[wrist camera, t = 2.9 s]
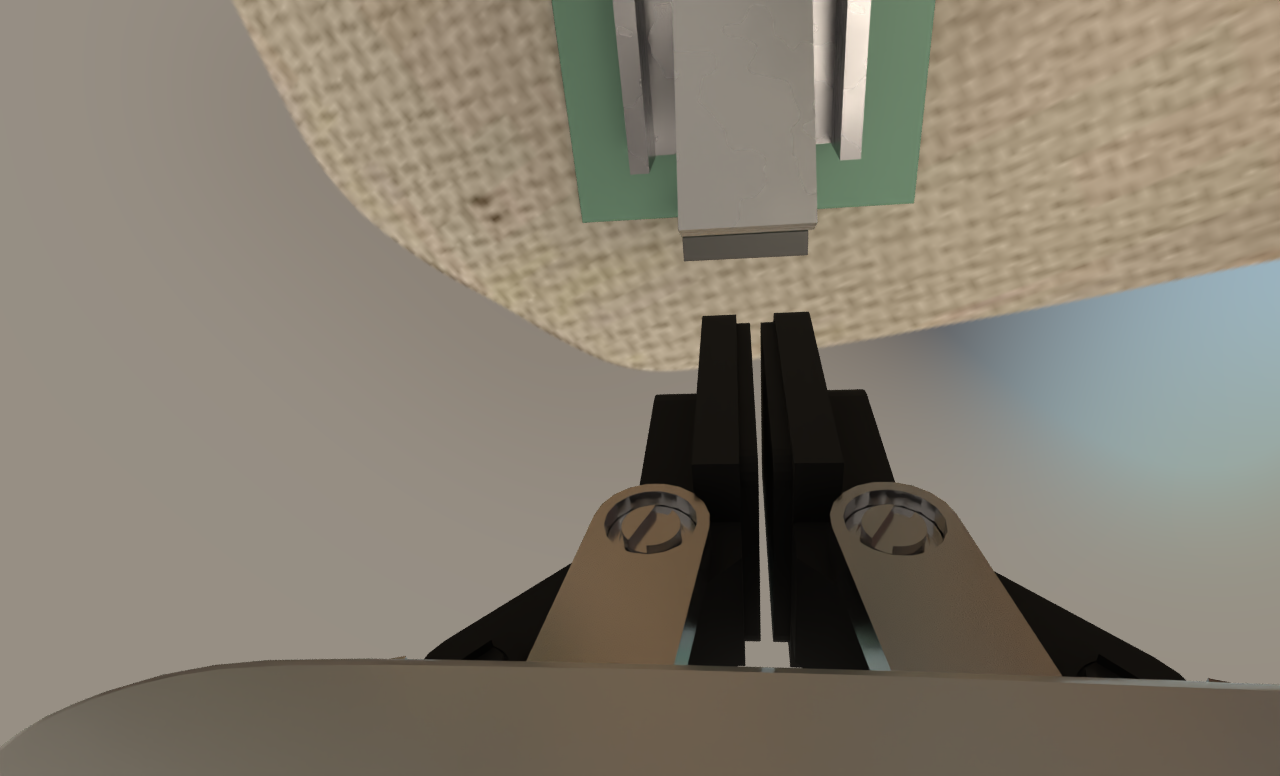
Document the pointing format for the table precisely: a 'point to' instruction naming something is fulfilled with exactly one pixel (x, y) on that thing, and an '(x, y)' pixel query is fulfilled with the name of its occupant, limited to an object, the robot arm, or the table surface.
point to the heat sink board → (661, 183)
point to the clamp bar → (744, 116)
